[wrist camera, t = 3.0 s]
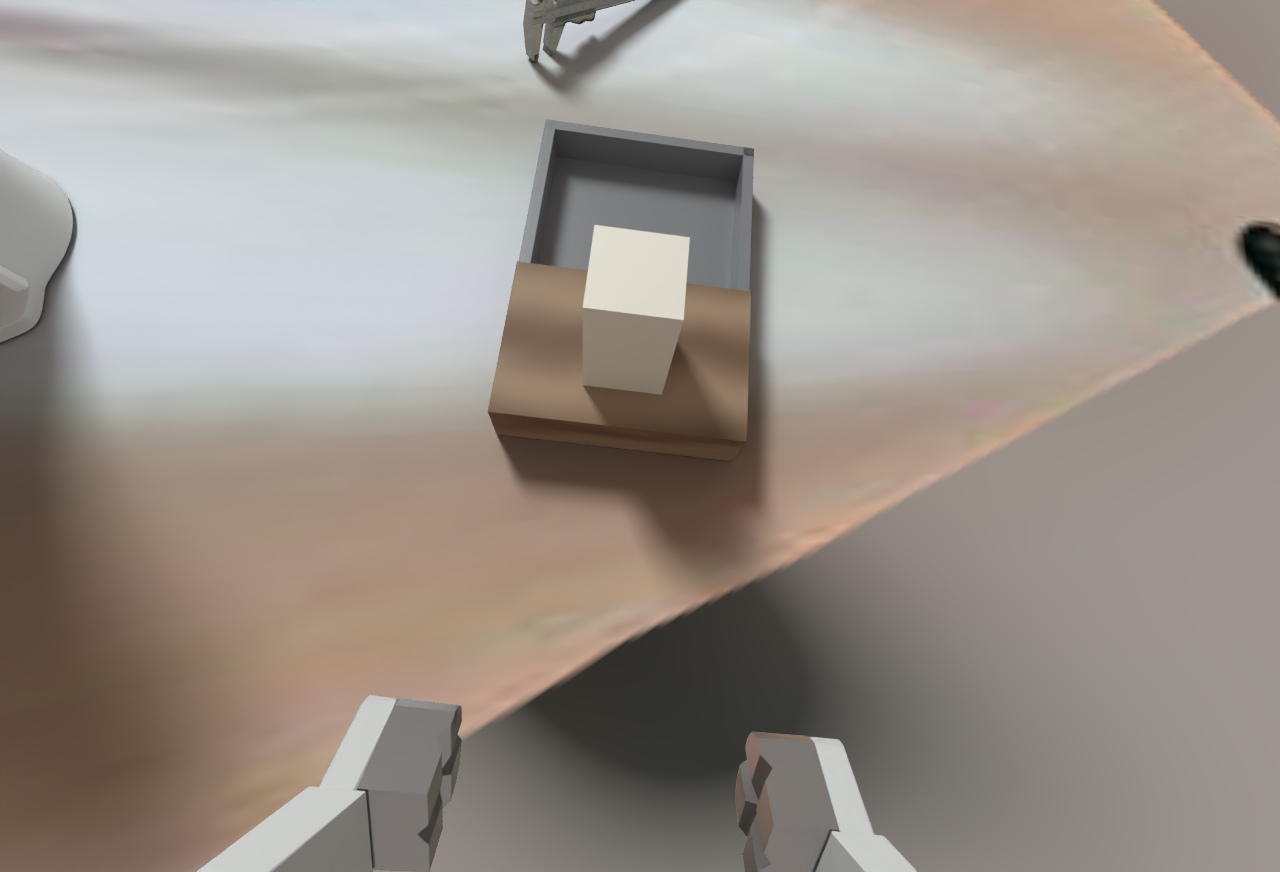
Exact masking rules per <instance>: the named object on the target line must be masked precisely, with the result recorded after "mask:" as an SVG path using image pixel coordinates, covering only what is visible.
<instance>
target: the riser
mask: <svg viewBox="0 0 1280 872" xmlns="http://www.w3.org/2000/svg"><path fill="white" fill-rule="evenodd" d="M587 273H588V270H580V269H572V268H564V267H557V266H549V265H541V264H533V263H526V262H518V261H517V264H516V270H515V275H514V280H513V285H512V290H511V295H510V301H509V306H508V311H507V316H506V321H505V326H504V332H503V337H502V342H501V347H500V352H499V357H498V363H497V368H496V373H495V378H494V383H493V388H492V393H491V399H490V404H489V409H488V413H489V416H490V418H491V421H492V423H493V426H494V429H495V431H496V434H497V435H506V436H514V437H523V438H532V439H540V440H549V441H558V442H567V443H575V444H584V445H593V446H602V447H610V448H619V449H628V450H637V451H645V452H654V453H663V454H672V455H680V456H689V457H698V458H707V459H715V460H724V461H733V459H734V458H735V457H736V455H737V454H738V453H739V451H740V450H741V449H742V447H743V446H744V445H745V443H746V442H747V415H748V382H749V349H750V316H751V291H743V290H735V289H728V288H720V287H712V286H704V285H697V284H689V283H686V295H685V308H684V321H683V324H682V327H681V331H680V334H679V338H678V341H677V344H676V348H675V351H674V355H673V358H672V361H671V365H670V368H669V372H668V375H667V378H666V382H665V385H664V389H663V392H662V395H660V394H652V393H644V392H635V391H627V390H618V389H610V388H602V387H593V386H585V385H583V301H584V294H585V287H586V280H587Z"/></svg>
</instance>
